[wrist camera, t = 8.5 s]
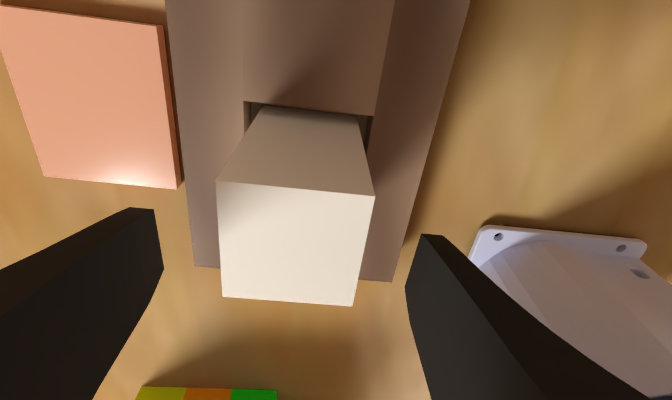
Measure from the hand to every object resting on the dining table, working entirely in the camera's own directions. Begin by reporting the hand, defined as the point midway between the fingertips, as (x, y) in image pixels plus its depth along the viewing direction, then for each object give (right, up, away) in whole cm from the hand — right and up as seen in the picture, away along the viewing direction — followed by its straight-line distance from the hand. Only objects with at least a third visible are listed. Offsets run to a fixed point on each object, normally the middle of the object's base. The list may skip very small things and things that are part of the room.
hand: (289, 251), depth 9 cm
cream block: (0, +3, +6) cm, 7 cm away
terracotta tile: (-9, +5, +5) cm, 12 cm away
